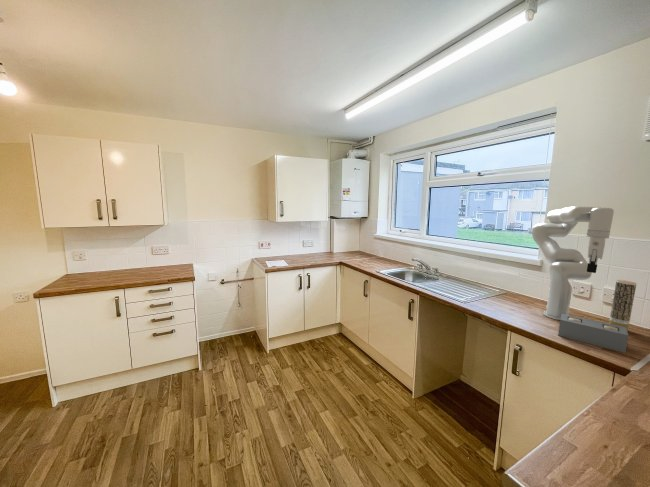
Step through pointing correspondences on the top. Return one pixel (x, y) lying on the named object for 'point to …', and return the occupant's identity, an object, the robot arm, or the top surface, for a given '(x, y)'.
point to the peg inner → (575, 319)
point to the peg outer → (611, 328)
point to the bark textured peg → (622, 303)
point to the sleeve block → (594, 333)
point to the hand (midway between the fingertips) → (591, 272)
